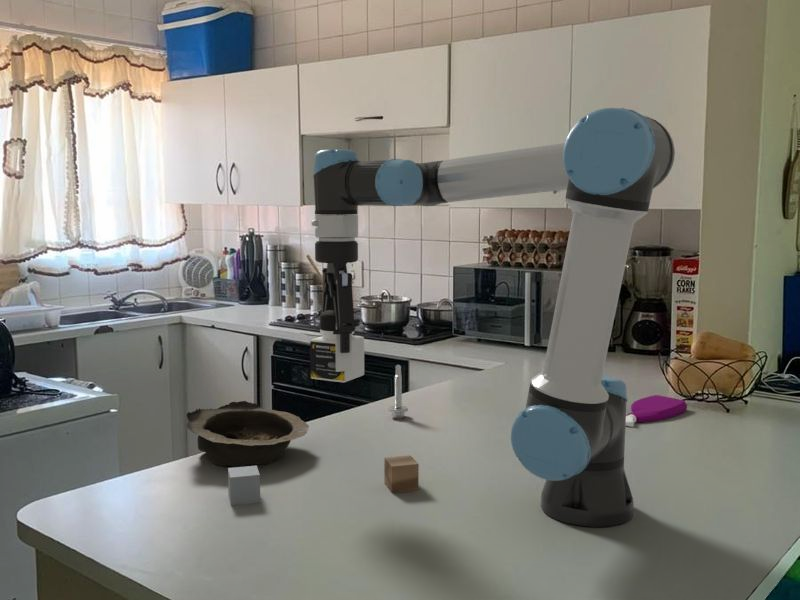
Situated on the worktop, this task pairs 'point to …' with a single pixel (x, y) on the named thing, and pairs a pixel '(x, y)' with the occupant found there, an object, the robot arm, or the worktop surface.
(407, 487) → the walnut block
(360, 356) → the medicine bottle
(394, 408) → the screw
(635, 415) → the spray bottle
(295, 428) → the stone bowl
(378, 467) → the worktop surface
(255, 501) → the slate block
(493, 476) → the worktop surface
